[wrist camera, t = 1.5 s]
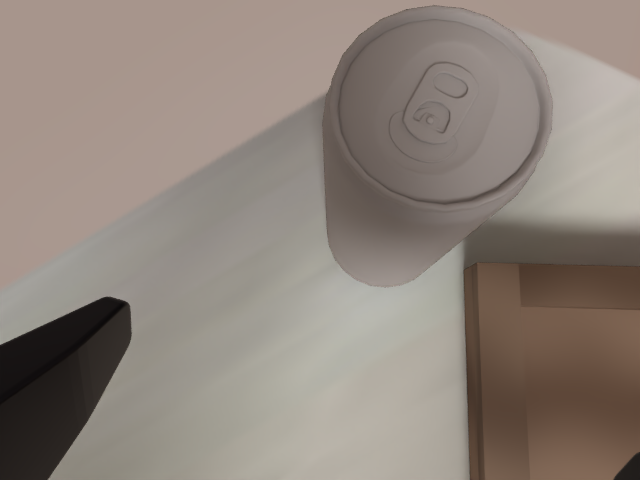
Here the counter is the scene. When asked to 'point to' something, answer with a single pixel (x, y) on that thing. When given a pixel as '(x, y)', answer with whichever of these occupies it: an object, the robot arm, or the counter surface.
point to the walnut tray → (552, 370)
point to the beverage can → (427, 138)
